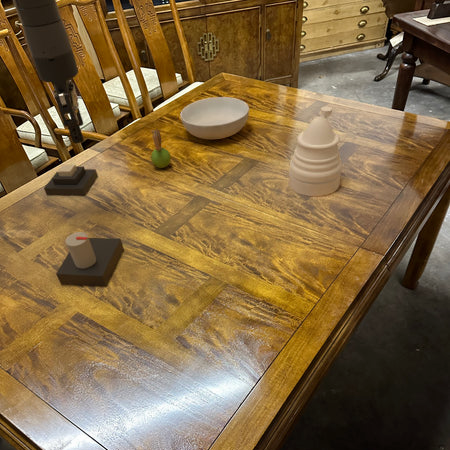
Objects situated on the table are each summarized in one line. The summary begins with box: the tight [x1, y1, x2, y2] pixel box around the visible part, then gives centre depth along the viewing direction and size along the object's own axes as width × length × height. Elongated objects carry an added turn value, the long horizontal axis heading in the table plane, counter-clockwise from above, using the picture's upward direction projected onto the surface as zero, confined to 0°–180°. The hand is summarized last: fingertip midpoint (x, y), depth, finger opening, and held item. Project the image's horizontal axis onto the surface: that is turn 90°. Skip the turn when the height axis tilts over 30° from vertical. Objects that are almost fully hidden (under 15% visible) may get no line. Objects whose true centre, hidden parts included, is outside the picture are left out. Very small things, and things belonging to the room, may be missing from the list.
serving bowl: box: [179, 96, 250, 140], centre depth 129 cm, size 21×21×7 cm
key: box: [56, 164, 77, 177], centre depth 111 cm, size 4×4×2 cm
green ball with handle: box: [150, 129, 172, 169], centre depth 114 cm, size 5×6×12 cm
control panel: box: [55, 237, 125, 287], centre depth 89 cm, size 10×12×3 cm
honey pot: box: [288, 106, 343, 197], centre depth 101 cm, size 13×13×18 cm
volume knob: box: [64, 231, 96, 269], centre depth 85 cm, size 4×4×6 cm
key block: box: [43, 166, 99, 197], centre depth 113 cm, size 11×10×4 cm
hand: (78, 133), depth 90 cm, fingers open, 8 cm apart
